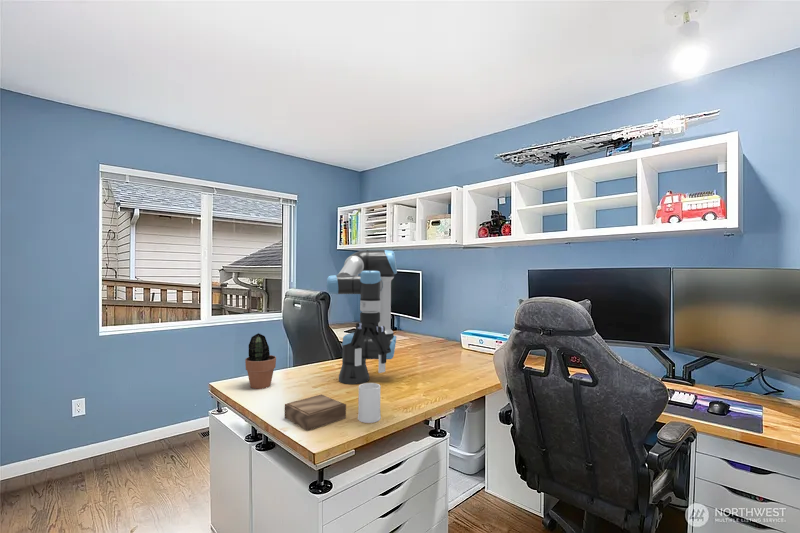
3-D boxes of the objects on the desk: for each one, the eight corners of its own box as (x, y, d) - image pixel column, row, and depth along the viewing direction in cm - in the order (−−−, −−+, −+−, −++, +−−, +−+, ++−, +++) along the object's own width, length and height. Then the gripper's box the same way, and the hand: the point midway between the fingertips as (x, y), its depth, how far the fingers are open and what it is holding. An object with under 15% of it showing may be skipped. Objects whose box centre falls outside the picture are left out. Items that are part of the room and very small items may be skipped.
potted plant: (281, 386, 180) (281, 332, 180) (252, 392, 170) (253, 336, 170) (267, 380, 189) (268, 329, 190) (239, 386, 180) (240, 332, 180)
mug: (357, 411, 148) (357, 380, 149) (379, 410, 149) (379, 379, 150) (357, 423, 137) (357, 389, 137) (381, 422, 138) (381, 389, 138)
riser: (284, 417, 142) (284, 403, 142) (321, 406, 153) (321, 393, 153) (307, 430, 130) (308, 414, 130) (345, 418, 142) (346, 403, 142)
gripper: (341, 309, 150) (341, 364, 149) (385, 315, 132) (385, 377, 132) (357, 308, 155) (356, 361, 155) (400, 313, 137) (400, 373, 137)
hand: (369, 368), depth 143 cm, fingers open, 13 cm apart
